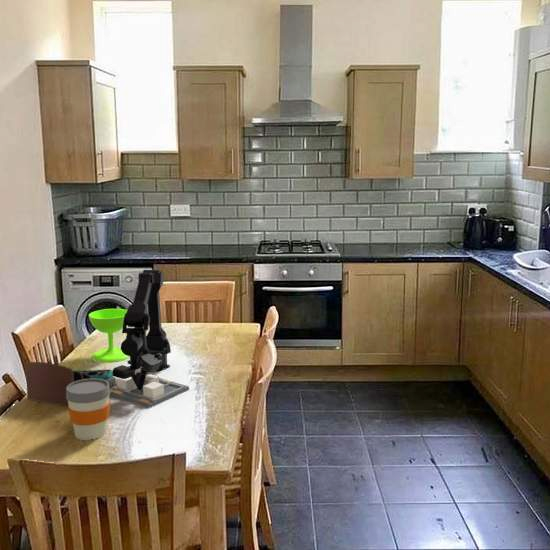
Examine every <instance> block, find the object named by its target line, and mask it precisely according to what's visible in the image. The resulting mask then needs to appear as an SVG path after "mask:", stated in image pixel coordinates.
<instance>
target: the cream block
mask: <svg viewBox="0 0 550 550" xmlns="http://www.w3.org/2000/svg"><path fill="white" fill-rule="evenodd" d="M159 378H160V376H157V375H155V374H151V373H148V374H147V375H146V378H145V381H144V384H143V386H145V385H147V384H149V383H152V382H157V383H159ZM142 390H143V387H142Z"/></svg>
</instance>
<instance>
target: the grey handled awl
mask: <svg viewBox="0 0 550 550" xmlns="http://www.w3.org/2000/svg"><path fill="white" fill-rule="evenodd" d="M106 381H108V383H109V388H110V387H111V386H113V385H114V384H116V383H117V378H116V377H114V376H113V377H110V378H109V379H107V380H106Z"/></svg>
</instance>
